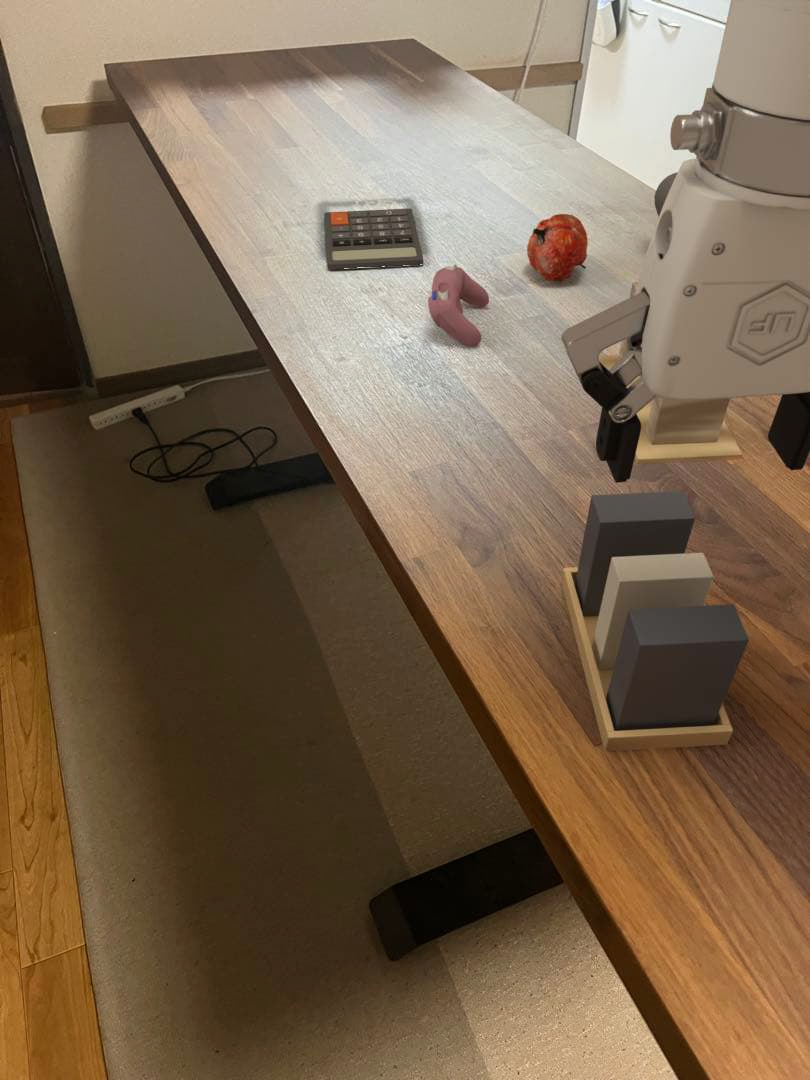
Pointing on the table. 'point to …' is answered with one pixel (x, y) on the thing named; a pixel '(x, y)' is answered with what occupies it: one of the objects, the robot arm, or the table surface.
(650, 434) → the wooden block stand
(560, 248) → the pomegranate
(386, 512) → the table surface
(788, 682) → the table surface
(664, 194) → the light bulb
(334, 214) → the calculator
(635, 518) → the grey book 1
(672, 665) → the dark grey block
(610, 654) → the beige rectangular block
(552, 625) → the table surface
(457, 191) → the table surface
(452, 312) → the video game controller
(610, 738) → the shallow beige tray
